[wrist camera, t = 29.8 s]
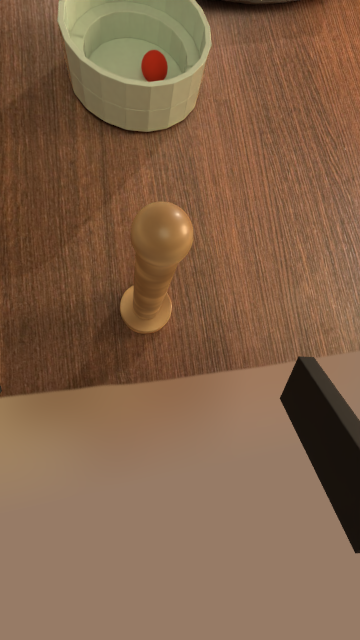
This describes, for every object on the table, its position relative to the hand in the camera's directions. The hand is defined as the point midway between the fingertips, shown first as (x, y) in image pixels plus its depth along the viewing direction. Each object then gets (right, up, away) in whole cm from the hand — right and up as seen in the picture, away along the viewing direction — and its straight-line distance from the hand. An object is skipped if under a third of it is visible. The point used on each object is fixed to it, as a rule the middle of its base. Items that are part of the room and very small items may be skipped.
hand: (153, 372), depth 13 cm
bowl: (-4, +31, +23) cm, 39 cm away
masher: (-2, +3, +17) cm, 18 cm away
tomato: (-2, +31, +21) cm, 38 cm away
